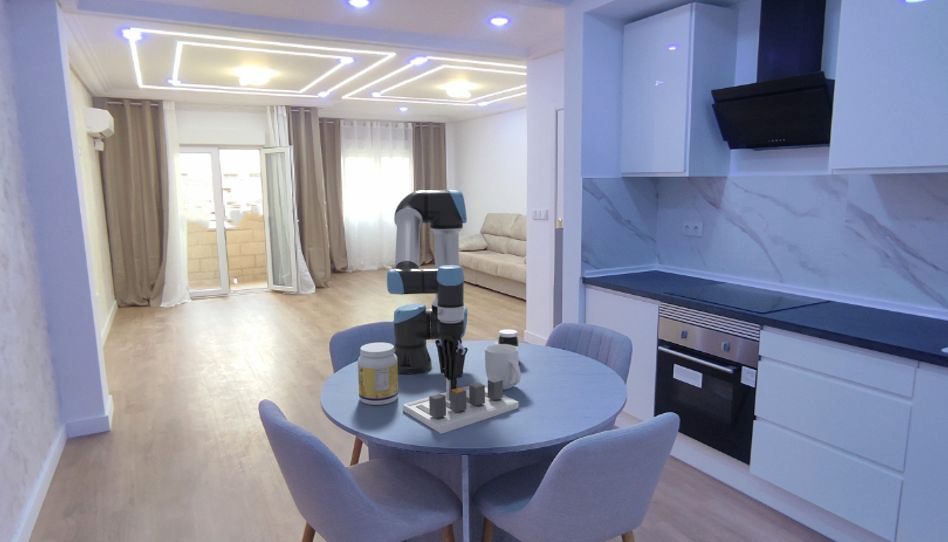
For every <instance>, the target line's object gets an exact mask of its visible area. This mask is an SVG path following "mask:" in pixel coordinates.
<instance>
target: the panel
mask: <svg viewBox="0 0 948 542" xmlns="http://www.w3.org/2000/svg"><path fill="white" fill-rule="evenodd" d="M461 388H462V389H464V390H465V391H466V409H465V410H462V411H459V412H455V411H453V410H451V409H450V401H448V400H446V415H445V416H442V417H439V418H434V417H432V416H430V408H429V397H425V398H421V399H418V400H415V401H414V400H413V401H410V402H407V403H403V404H402V411H403V412H405V414H408V415H409V416H410V417H412V418H414V419H416V421H417V420H418V421H420V422H421V423H422V424H424V425H426V426H428V427H429V428H430V429H432V430H434V431H436V432H437V433H439V434H440V435H441V434H446V433H448V432H453V431H454V430H457V429H461V428H463V427H467V426H469V425H472V424H476V423H478V422H481V421H484V420H488V419H489V418H494V417H496V416H499V415H502V414H505V413H508V412H512V411H513V410H514V411H515V410H517V409H519V401H517V400H516V399H513V398H511V397H508V396H507V395H505V394H503V398H500V399H497V400H492V399H490V398H488V387H486V386H485V403H484V404H481V405H477V406H475V405H473V404H470V403H469V385H467V386H463V387H461ZM441 394H442V395H444V396H446V391H445V392H443V393H442V392H441Z"/></svg>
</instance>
